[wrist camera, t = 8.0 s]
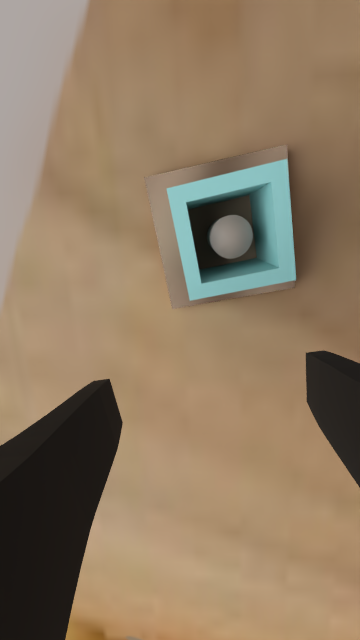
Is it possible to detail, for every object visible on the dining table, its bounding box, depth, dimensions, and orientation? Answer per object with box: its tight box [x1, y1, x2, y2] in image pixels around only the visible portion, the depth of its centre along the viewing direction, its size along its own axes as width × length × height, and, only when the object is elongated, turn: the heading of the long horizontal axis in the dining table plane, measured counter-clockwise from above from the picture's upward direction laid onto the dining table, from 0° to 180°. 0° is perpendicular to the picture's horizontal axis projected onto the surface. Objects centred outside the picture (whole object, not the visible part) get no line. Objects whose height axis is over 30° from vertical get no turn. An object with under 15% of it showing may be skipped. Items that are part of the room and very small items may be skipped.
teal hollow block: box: [167, 159, 296, 301], centre depth 14 cm, size 5×5×4 cm
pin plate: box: [144, 145, 295, 309], centre depth 15 cm, size 8×8×4 cm
